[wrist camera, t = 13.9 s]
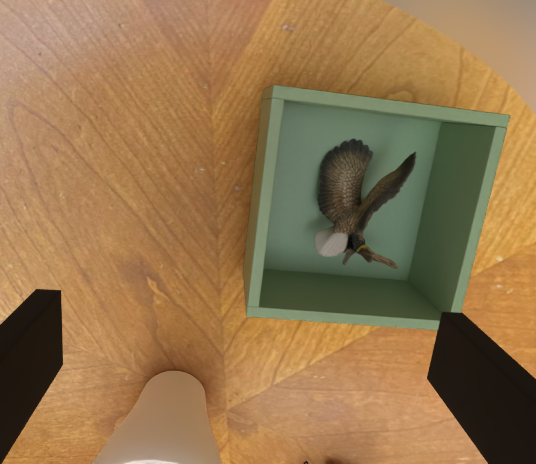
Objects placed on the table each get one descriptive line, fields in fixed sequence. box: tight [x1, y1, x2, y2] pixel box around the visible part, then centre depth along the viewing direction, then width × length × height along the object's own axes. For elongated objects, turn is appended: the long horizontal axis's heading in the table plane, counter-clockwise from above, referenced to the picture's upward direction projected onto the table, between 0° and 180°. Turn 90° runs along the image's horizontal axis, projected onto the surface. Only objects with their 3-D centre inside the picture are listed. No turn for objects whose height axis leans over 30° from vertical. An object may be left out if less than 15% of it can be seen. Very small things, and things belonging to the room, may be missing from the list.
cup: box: [92, 371, 222, 464], centre depth 36 cm, size 10×10×14 cm
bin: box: [243, 85, 510, 330], centre depth 35 cm, size 16×16×9 cm
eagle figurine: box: [314, 138, 417, 269], centre depth 35 cm, size 8×7×9 cm
